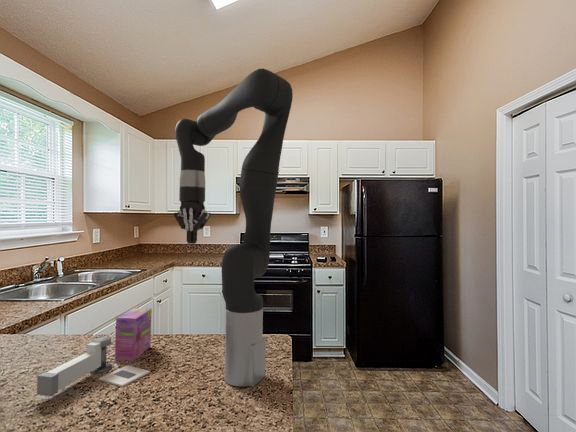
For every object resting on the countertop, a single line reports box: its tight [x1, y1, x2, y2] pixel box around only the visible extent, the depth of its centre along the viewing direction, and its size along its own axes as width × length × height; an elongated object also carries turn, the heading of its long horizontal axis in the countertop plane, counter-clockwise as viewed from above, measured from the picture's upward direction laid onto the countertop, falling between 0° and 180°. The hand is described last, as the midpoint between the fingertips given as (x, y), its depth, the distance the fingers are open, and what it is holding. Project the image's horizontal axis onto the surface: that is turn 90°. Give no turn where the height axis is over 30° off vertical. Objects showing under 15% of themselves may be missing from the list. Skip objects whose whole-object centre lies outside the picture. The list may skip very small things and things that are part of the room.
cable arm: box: [36, 336, 112, 397], centre depth 78 cm, size 18×4×6 cm, turn 169°
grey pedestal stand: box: [90, 346, 113, 374], centre depth 85 cm, size 5×5×6 cm
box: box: [114, 307, 152, 361], centre depth 95 cm, size 10×6×12 cm, turn 179°
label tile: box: [98, 364, 151, 388], centre depth 81 cm, size 8×8×1 cm
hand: (191, 243), depth 99 cm, fingers closed
